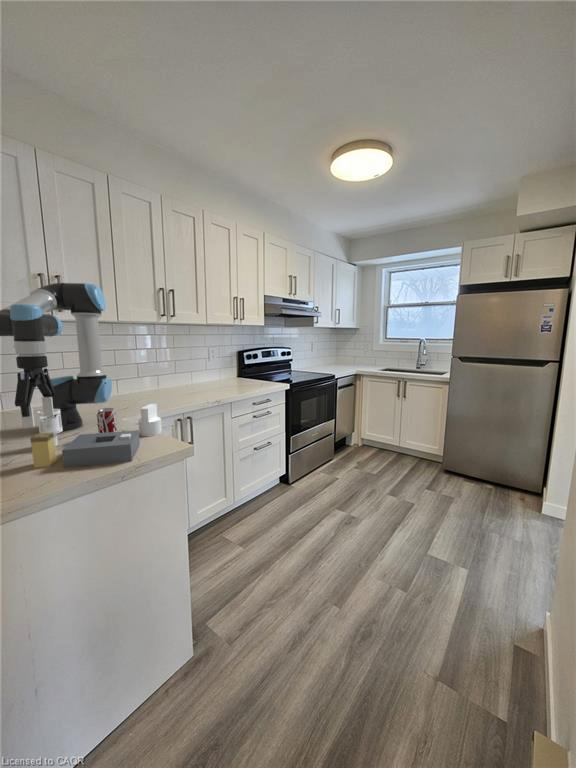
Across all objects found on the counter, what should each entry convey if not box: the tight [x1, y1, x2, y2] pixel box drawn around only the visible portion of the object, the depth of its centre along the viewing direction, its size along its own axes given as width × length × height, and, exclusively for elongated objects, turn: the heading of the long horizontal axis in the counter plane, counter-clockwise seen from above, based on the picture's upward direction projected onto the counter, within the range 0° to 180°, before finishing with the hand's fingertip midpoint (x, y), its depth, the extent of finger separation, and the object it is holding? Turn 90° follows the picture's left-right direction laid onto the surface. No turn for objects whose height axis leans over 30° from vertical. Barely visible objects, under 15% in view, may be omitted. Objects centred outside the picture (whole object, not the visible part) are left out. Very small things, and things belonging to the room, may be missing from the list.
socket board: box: [61, 429, 141, 468], centre depth 110 cm, size 16×20×7 cm
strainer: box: [36, 409, 63, 447], centre depth 119 cm, size 7×7×15 cm
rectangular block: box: [30, 433, 57, 469], centre depth 103 cm, size 4×4×10 cm
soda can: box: [96, 407, 118, 433], centre depth 129 cm, size 7×7×12 cm
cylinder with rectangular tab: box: [138, 403, 163, 437], centre depth 135 cm, size 9×9×12 cm
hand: (39, 420), depth 101 cm, fingers open, 13 cm apart
